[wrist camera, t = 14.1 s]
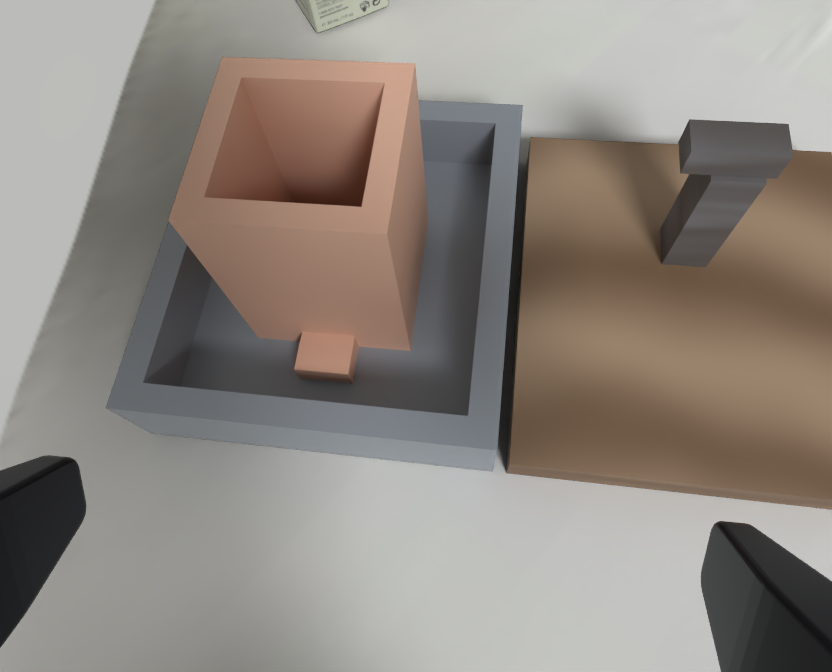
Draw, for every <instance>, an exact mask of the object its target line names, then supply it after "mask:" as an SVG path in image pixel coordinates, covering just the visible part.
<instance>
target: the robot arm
mask: <svg viewBox="0 0 832 672" xmlns="http://www.w3.org/2000/svg"><path fill="white" fill-rule="evenodd" d="M85 513H86V500H85V495H84V490H83V485H82V480H81V475H80V470H79V466H78V464H77V462H76V461H75V460H74V459H72V458H70V457H60V456H49V455H48V456H42V457H39V458H36V459H33V460H30V461H27V462H24V463H21V464H18V465H15V466H13V467H10V468H7V469H4V470H1V471H0V648H1V646H2V645H3V644H4V642H5V641H6V640H7V638H8V637H9V636H10V634H11V633H12V632H13V630H14V629H15V627H16V626H17V625H18V623H19V622H20V620H21V619H22V618H23V616H24V615H25V613H26V612H27V610H28V609H29V607H30V606H31V604H32V603H33V601H34V600H35V598H36V596H37V595H38V593H39V591H40V590H41V588H42V587H43V585H44V583H45V582H46V580H47V579H48V577H49V575H50V574H51V572H52V570H53V569H54V567H55V566H56V564H57V562H58V561H59V559H60V558H61V556H62V554H63V553H64V551H65V549H66V548H67V546H68V545H69V543H70V541H71V540H72V538H73V536H74V535H75V533H76V532H77V530H78V528H79V527H80V525H81V523H82V522H83V519H84V517H85ZM701 587H702V593H703V597H704V601H705V605H706V610H707V614H708V618H709V622H710V627H711V631H712V635H713V639H714V644H715V648H716V652H717V656H718V661H719V665H720V669H721V672H832V581H830V580H829V579H828V578H826V577H825V576H823V575H822V574H820V573H819V572H818V571H816V570H815V569H813V568H812V567H810V566H809V565H807V564H806V563H805V562H803V561H802V560H800V559H799V558H797V557H796V556H795V555H793V554H792V553H790V552H789V551H787V550H786V549H785V548H783V547H782V546H780V545H779V544H777V543H776V542H775V541H773V540H772V539H770V538H769V537H767V536H766V535H765V534H763V533H762V532H760V531H759V530H757V529H756V528H754V527H753V526H751V525H749V524H745V523H734V522H724V521H719V522H717V523H716V524H714V526H713V528H712V530H711V533H710V537H709V541H708V545H707V550H706V554H705V558H704V562H703V566H702V571H701Z"/></svg>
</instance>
